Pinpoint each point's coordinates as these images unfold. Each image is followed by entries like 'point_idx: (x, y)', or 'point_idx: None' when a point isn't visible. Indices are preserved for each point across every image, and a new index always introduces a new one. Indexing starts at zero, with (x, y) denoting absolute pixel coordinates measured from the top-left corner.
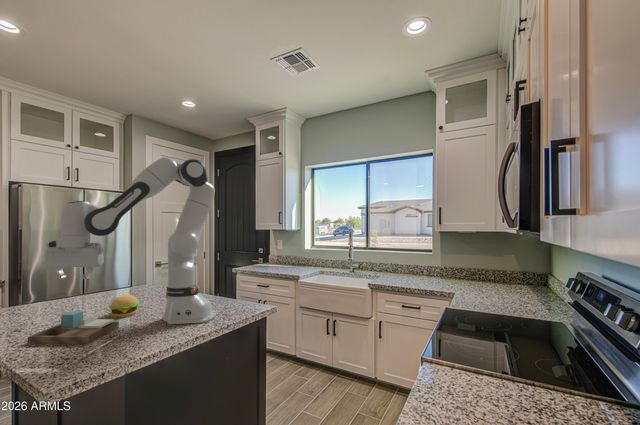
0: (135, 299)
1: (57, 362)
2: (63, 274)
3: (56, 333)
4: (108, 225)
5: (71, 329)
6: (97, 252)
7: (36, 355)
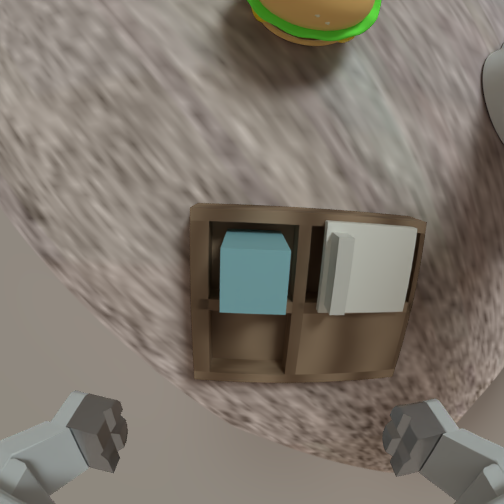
0: None
1: (357, 423)
2: (109, 456)
3: None
4: None
5: (296, 319)
6: None
7: (278, 403)
